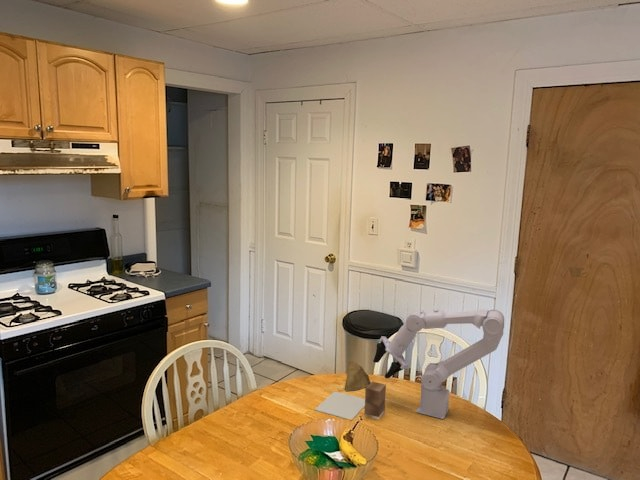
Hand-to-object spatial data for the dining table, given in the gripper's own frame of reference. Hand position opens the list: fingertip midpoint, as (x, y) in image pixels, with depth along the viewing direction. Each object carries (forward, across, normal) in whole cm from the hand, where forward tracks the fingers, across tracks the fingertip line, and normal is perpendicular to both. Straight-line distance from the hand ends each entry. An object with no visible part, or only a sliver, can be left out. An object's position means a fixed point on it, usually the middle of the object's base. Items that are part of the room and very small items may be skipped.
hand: (381, 369), depth 172 cm
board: (+16, +2, -10) cm, 18 cm away
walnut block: (+10, +12, -5) cm, 16 cm away
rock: (+16, -6, +4) cm, 17 cm away
